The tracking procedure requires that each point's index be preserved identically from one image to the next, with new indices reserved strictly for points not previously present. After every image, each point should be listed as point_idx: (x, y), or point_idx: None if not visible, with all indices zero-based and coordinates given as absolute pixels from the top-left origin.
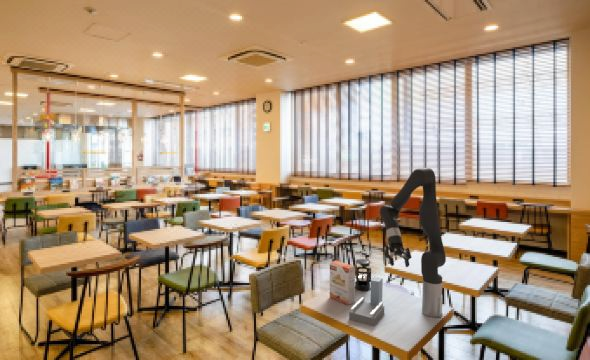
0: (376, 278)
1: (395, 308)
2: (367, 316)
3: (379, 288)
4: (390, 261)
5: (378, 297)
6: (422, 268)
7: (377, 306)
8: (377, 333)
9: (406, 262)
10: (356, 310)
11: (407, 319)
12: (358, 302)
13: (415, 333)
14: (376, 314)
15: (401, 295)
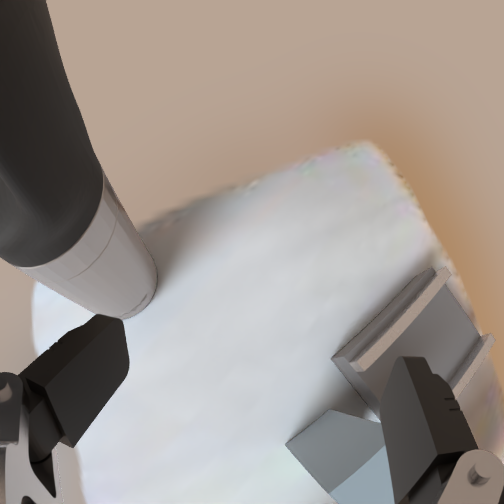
0: (377, 495)
1: (244, 389)
2: (447, 290)
3: (363, 432)
4: (453, 415)
5: (353, 416)
6: (49, 161)
7: (403, 325)
8: (418, 235)
9: (87, 371)
10: (465, 352)
11: (260, 276)
12: (457, 388)
13: (299, 184)
14: (413, 293)
15: (121, 485)
